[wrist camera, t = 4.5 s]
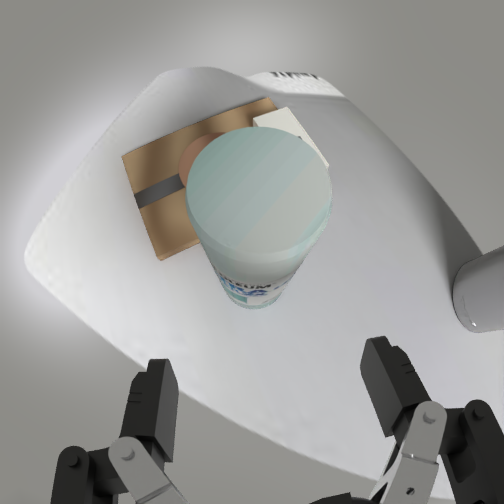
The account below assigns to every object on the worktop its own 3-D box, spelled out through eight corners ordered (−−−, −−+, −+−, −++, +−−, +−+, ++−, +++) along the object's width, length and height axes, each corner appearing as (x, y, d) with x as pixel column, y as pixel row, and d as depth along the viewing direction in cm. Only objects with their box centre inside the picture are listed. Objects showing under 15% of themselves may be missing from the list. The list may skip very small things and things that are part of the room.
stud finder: (252, 131, 36) (253, 117, 33) (285, 120, 36) (287, 105, 33) (290, 191, 33) (293, 179, 31) (324, 177, 34) (329, 164, 31)
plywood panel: (268, 104, 39) (268, 96, 37) (324, 186, 35) (327, 179, 34) (125, 162, 36) (121, 155, 34) (160, 260, 33) (156, 256, 31)
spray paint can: (208, 283, 32) (151, 195, 13) (248, 236, 33) (248, 103, 14) (258, 324, 31) (274, 293, 12) (298, 274, 32) (362, 176, 13)
